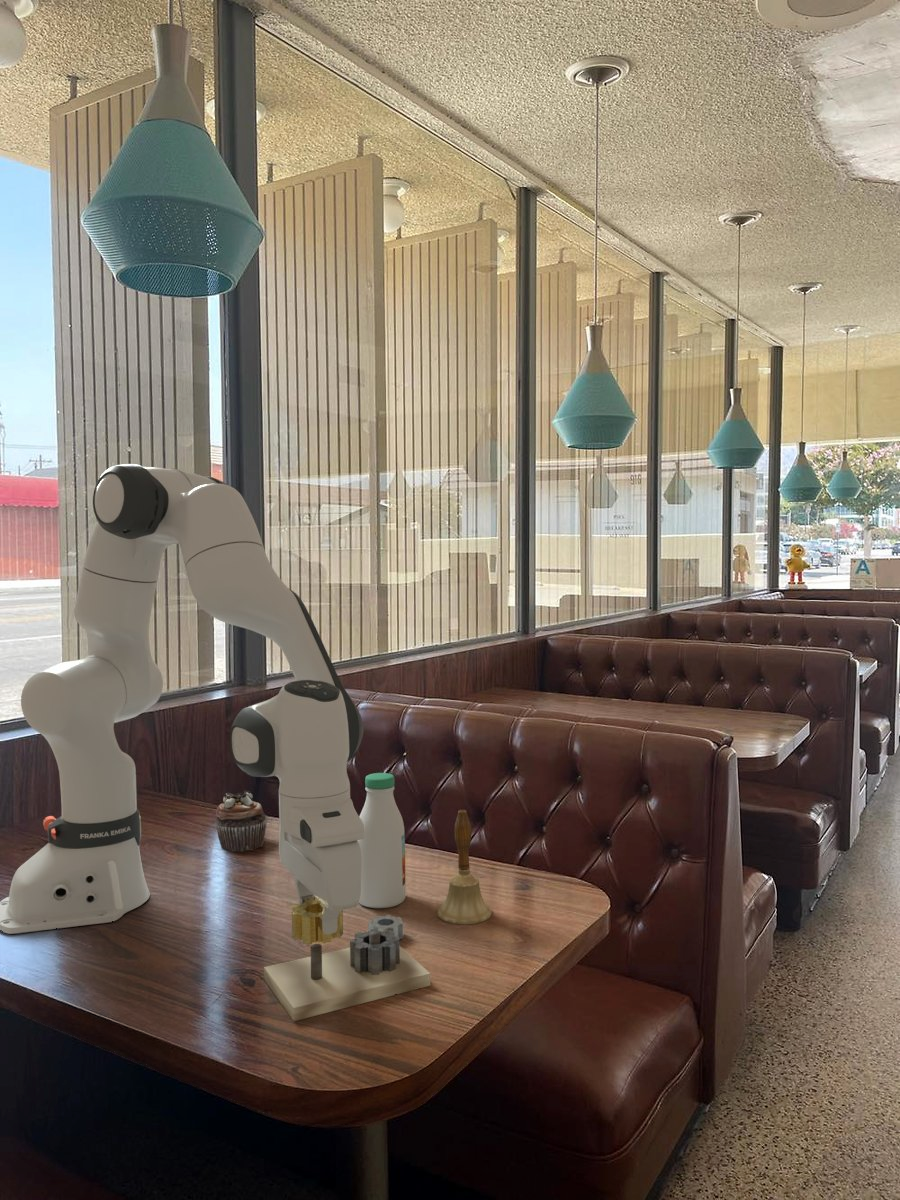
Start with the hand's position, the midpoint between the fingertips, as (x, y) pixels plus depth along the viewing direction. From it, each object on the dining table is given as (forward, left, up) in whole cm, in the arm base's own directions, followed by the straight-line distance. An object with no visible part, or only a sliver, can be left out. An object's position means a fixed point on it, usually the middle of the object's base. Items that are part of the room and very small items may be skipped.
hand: (317, 920), depth 113 cm
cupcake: (+7, +61, -9) cm, 62 cm away
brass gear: (0, 0, -2) cm, 2 cm away
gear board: (+4, 0, -9) cm, 10 cm away
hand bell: (+28, +12, -9) cm, 32 cm away
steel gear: (+8, 0, -7) cm, 11 cm away
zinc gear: (+14, +10, -9) cm, 19 cm away
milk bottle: (+19, +23, -9) cm, 31 cm away
